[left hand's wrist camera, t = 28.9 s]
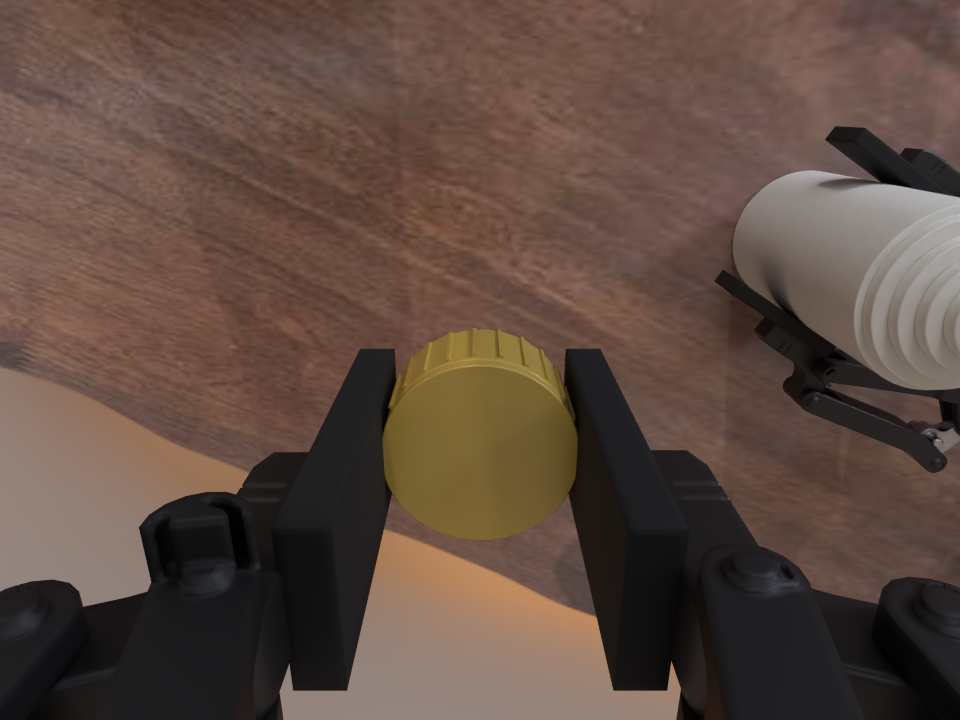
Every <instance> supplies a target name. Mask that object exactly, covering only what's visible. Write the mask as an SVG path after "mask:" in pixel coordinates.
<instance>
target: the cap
mask: <svg viewBox="0 0 960 720" xmlns="http://www.w3.org/2000/svg"><path fill="white" fill-rule="evenodd" d="M388 408H389V409H390V410H389V414H388V417H387V420H386V424H385V427H384V431H383V435H382V438H383V456H384V472H385V480H386V482H387V485H388V487H389V489H390V490H391V492H392V494H393V496H394V497H395V498H396V500H397V501H398V503H399V504H400V505H401V506H402V507H403V508H404V509H405V510H406V512H407V513H409V514H410V515H411V516H412V517H413V518H415V519H416V520H417V521H419V522H420V523H422V524H423V525H425V526H427V527H429V528H431V529H433V530H435V531H437V532H439V533H442V534H445V535H448V536H451V537H456V538H460V539H468V540H493V539H500V538H505V537H509V536H512V535H515V534H518V533H521V532H524V531H526V530H528V529H530V528H532V527H534V526H535V525H537V524H539V523H540V522H542V521H543V520H544V519H546V518H547V517H548V516H549V515H551V514H552V513H553V512H554V511H555V510H556V509H557V508H558V507H559V506H560V504H561V503H562V502H563V500H564V499H565V498H566V496H567V495H568V493H569V491H570V489H571V488H572V486H573V483H574V481H575V478H576V463H577V447H578V433H577V429H576V425H575V422H574V421H575V418H576V417H575V414H574V411H573V407H572V404H571V401H570V398H569V394H568V391H567V388H566V386H563V383H562V379H561V376H560V373H559V369H558V367H557V366H555V367H554V366H553V365H552V363H551V362H550V361H549V359H548V358H547V357H546V356H545V355H544V351H543V350H542V349H540V350H538V349H537V348H535V347H534V346H533V345H531V344H530V343H528V342H526V341H525V340H524V338H523V337H520V338H518V337H516V336H513V335H511V334H507V333H504V332H501V330H499V329H497V331H493V330H477V328H473V330H467V331H461V332H457V333H453V332H450V333H449V335H447V336H445V337H442V338H440V339H438V340H436V341H434V342H432V343H431V342H428V343H427V346H426V347H425V348H424V349H422V350H421V351H420V352H419V353H418V354H417V355H416V356H415V357H413V356H412V357H411V358H410V360H409V363H408V365H407V366H406V368H405V370H404V371H403V373H402V375H400V374H399V375H398V377H397V380H396V383H395V387H394V390H393V393H392V396H391V400H390V403H389V406H388Z"/></svg>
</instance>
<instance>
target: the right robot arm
mask: <svg viewBox="0 0 960 720" xmlns="http://www.w3.org/2000/svg"><path fill="white" fill-rule="evenodd" d="M825 140H826V141H828V142H829V143H830V144H831V145H833V146H834V147H835V148H837V149H838V150H839V151H841V152H842V153H843V154H845V155H846V156H847V157H849V158H850V159H851V160H852V161H854V162H855V163H856V164H858V165H859V166H860V167H862V168H863V169H864V170H866V171H867V172H868V173H870V174H871V175H872V176H873V177H875V178H876V179H877V180H879V181H880V182H881V183H885V184H891V185H896V186H901V187H906V188H912V189H917V190H922V191H928V192H933V193H938V194H943V195H949V196H954V197H959V198H960V172H959V171H957V170H956V169H955V168H954V167H952V166H951V165H950V164H948V163H947V162H946V161H945V160H944V159H942V158H941V157H940V156H939V155H937V154H936V153H935V152H933V151H928V150H922V149H912V148H905V149H904V150H903V151H902V153H901V154H900V155H899V154H898V153H897V152H895V151H894V150H893V149H891V148H890V147H889V146H888V145H886V144H885V143H884V142H882V141H881V140H880V139H879V138H877V137H876V136H875V135H873V134H872V133H871V132H870V131H868V130H867V129H866V128H856V127H838V126H835V128H834V129H833V130H832V131H831V133H830V134H829V135H828V136H827V138H826V139H825ZM715 282H716V283H718V284H719V285H720V286H722V287H723V288H724V289H726V290H727V291H728V292H730V293H731V294H732V295H734V296H735V297H737V298H738V299H740V300H741V301H743V302H744V303H746V304H747V305H749V306H750V307H752V308H753V309H755V310H756V311H758V312H759V313H761V314H762V315H764V316H765V317H764V318H763V320H762V321H761V322H760V323H759V325H758V326H757V327H756V328H755V329H754V330H755V332H756V334H757V335H758V337H759V338H760V339H761V340H763V341H764V342H765V343H766V344H767V345H769V346H770V347H772V348H773V349H775V350H776V351H778V352H779V353H781V354H782V355H784V356H785V357H787V358H788V359H790V360H791V361H793V362H794V372H793V374H792V376H790V377H788V378H787V379H786V380H785V381H784V383H783V389H784V391H785V392H786V393H787V394H788V395H789V396H790V397H791V398H792V399H793V400H794V401H795V402H796V403H797V404H799V405H800V406H801V407H802V408H803V409H804V410H805V411H807V412H809V413H812V414H814V415H817V416H819V417H822V418H824V419H827V420H829V421H832V422H834V423H837V424H839V425H842V426H844V427H847V428H849V429H852V430H854V431H857V432H859V433H862V434H864V435H867V436H869V437H871V438H874V439H876V440H879V441H881V442H884V443H886V444H889V445H891V446H894V447H896V448H899V449H901V450H903V451H904V452H905V453H906V454H908V455H909V456H910V457H911V458H913V459H914V460H915V461H916V462H917V463H919V464H920V465H921V466H922V467H924V468H925V469H926V470H927V471H929V472H932V473H936V472H939V471H941V470H943V469H944V468H945V466H946V464H947V459H946V457H945V456H944V455H943V453H944V452H946V451H947V450H948V449H950V448H951V447H952V446H954V445H955V444H956V443H958V442H959V441H960V388H955V389H944V390H918V389H911V388H906V387H902V386H899V385H897V384H894V383H892V382H890V381H888V380H886V379H884V378H882V377H881V376H880V375H878V374H877V373H875V372H874V371H872V370H871V369H869V368H868V367H866V366H865V365H863V364H862V363H860V362H859V361H857V360H856V359H854V358H853V357H851V356H850V355H848V354H847V353H845V352H844V351H842V350H838V349H835V348H836V346H835V345H833V344H832V343H830V342H829V341H827V340H826V339H824V338H823V337H822V336H820V335H819V334H817V333H816V332H814V331H813V330H811V329H810V328H808V327H807V326H806V325H804V324H803V323H801V322H800V321H798V320H797V319H795V318H794V317H792V316H791V315H789V314H788V313H786V312H785V311H783V310H782V309H780V308H779V307H778V306H776V305H775V304H773V303H772V302H770V301H769V300H767V299H766V298H764V297H763V296H761V295H760V294H758V293H757V292H755V291H754V290H753V289H751V288H750V287H748V286H747V285H745V284H744V283H742V282H741V281H739V280H738V279H736V278H735V277H733V276H732V275H730V274H729V273H727V272H726V271H724V270H723V271H722V272H721V273H720V274H719V276H718V277H717V278H716V280H715ZM828 382H832V383H839V384H846V385H853V386H860V387H867V388H874V389H881V390H888V391H895V392H902V393H909V394H916V395H923V396H929V397H933V398H936V399H938V400H939V404H940V411H941V417H942V421H943V422H941V423H939V424H934V425H933V424H929V423H927V422H925V421H920V422H917V421H914V420H913V421H910V422H909V423H908V424H907V423H905V422H904V421H902V420H901V419H899V418H898V417H896V416H894V415H892V414H890V413H888V412H885V411H883V410H880V409H878V408H875V407H873V406H871V405H868V404H866V403H863V402H861V401H858V400H856V399H853V398H851V397H849V396H846V395H844V394H841V393H839V392H836V391H834V390H831V389H829V388H827V387H825V386H826V385H827V386H829V387H830V386H831V385H830V384H829V383H828Z"/></svg>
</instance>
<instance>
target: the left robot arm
mask: <svg viewBox="0 0 960 720" xmlns="http://www.w3.org/2000/svg"><path fill="white" fill-rule="evenodd" d="M395 383H396V367H395V349H360V350H359V353H358V355H357V357H356V359H355V361H354V363H353V365H352V367H351V369H350V371H349V373H348V375H347V377H346V379H345V381H344V383H343V385H342V387H341V389H340V391H339V393H338V395H337V397H336V399H335V401H334V403H333V405H332V407H331V409H330V411H329V413H328V415H327V417H326V419H325V421H324V423H323V425H322V427H321V429H320V431H319V433H318V435H317V437H316V439H315V441H314V443H313V445H312V447H311V449H310V451H309V452H274V453H273V454H271V455H270V456H269V457H267V458H266V459H264V460H263V461H262V462H260V463H259V464H257V465H256V466H255V467H253V469H252V470H251V472H250V474H249V475H248V477H247V478H246V480H245V481H244V483H243V487H242V488H240V489H239V491H238V493H237V494H236V495H235V494H232V493H228V492H205V493H200V494H194V495H189V496H185V497H183V498H180V499H177V500H175V501H172V502H170V503H167V504H165V505H163V506H162V507H160V508H159V509H157V510H156V511H154V512H153V513H151V514H150V515H149V516H148V517H147V518H146V519H145V521H144V522H143V523H142V524H141V525H140V527H139V530H140V534H141V538H142V543H143V547H144V551H145V556H146V560H147V565H148V569H149V574H150V578H151V585H150V587H149V589H148V592H145V593H141V594H138V595H134V596H131V597H127V598H122V599H118V600H113V601H108V602H104V603H99V604H94V605H90V606H85V607H83V605H82V601H81V597H80V594H79V591H78V590H77V589H76V588H75V587H73V586H72V585H71V584H70V583H67V582H62V581H57V580H43V581H32V582H28V583H24V584H20V585H18V586H13V587H11V588H7V589H5V590H3V591H1V592H0V720H283V714H282V707H281V700H280V693H279V691H280V689H281V686H282V683H283V680H284V677H285V674H286V671H287V668H288V665H289V663H290V670H291V677H292V685H293V690H294V691H347V688H348V683H349V679H350V675H351V670H352V666H353V661H354V657H355V653H356V648H357V644H358V640H359V635H360V631H361V627H362V622H363V618H364V613H365V609H366V605H367V600H368V596H369V591H370V587H371V583H372V578H373V574H374V570H375V565H376V561H377V556H378V552H379V548H380V543H381V539H382V535H383V530H384V526H385V521H386V517H387V513H388V508H389V504H390V500H391V495H392V492H391V490H390V489H389V487H388V485H387V482H386V480H385V472H384V456H383V438H382V435H383V431H384V427H385V424H386V420H387V417H388V414H389V410H390V409H389V408H388V406H389V403H390V400H391V396H392V393H393V390H394V387H395ZM564 386H566V388H567V391H568V394H569V398H570V401H571V404H572V407H573V411H574V414H575V417H576V418H575V421H574V422H575V425H576V429H577V433H578V447H577V463H576V478H575V481H574V483H573V486H572V488H571V489H570V491H569V498H570V502H571V507H572V511H573V515H574V520H575V524H576V528H577V533H578V537H579V542H580V546H581V550H582V555H583V559H584V563H585V568H586V572H587V577H588V581H589V585H590V590H591V594H592V599H593V603H594V607H595V612H596V616H597V620H598V625H599V629H600V634H601V638H602V642H603V647H604V651H605V655H606V660H607V664H608V669H609V673H610V677H611V681H612V686H613V690H614V691H667V688H668V680H669V673H670V666H671V661H672V664H673V666H674V669H675V672H676V675H677V678H678V681H679V684H680V687H681V693H680V700H679V706H678V713H677V720H960V588H958V587H956V586H954V585H951V584H948V583H943V582H941V581H936V580H933V579H926V578H916V577H905V578H900V579H895V580H891V581H890V582H889V583H888V584H887V585H886V586H885V587H884V588H883V589H882V592H881V596H880V599H879V603H878V604H874V603H870V602H865V601H860V600H856V599H851V598H846V597H842V596H837V595H833V594H829V593H825V592H822V591H818V590H815V589H813V588H811V586H810V583H809V581H808V580H807V578H806V577H805V576H804V574H803V573H802V571H801V570H800V568H799V567H797V566H796V565H795V564H793V563H792V562H791V561H789V560H788V559H787V558H785V557H784V556H782V555H780V554H778V553H775V552H773V551H771V550H769V549H766V548H764V547H759V546H758V544H757V543H756V541H755V539H754V538H753V536H752V535H751V533H750V532H749V530H748V528H747V527H746V525H745V524H744V522H743V521H742V519H741V517H740V516H739V514H738V513H737V511H736V510H735V508H734V506H733V505H732V503H731V502H730V500H727V495H726V494H725V492H724V491H723V489H722V488H721V486H718V481H717V480H716V478H715V477H714V475H713V473H712V472H711V470H710V469H709V467H708V466H707V465H706V464H705V463H703V462H702V461H701V460H699V459H698V458H696V457H695V456H694V455H692V454H691V453H689V452H688V451H687V450H650V448H649V446H648V444H647V442H646V440H645V438H644V436H643V434H642V432H641V430H640V428H639V426H638V424H637V422H636V420H635V418H634V416H633V414H632V412H631V410H630V408H629V406H628V404H627V402H626V400H625V398H624V396H623V394H622V392H621V390H620V388H619V386H618V384H617V382H616V380H615V378H614V376H613V374H612V372H611V370H610V368H609V366H608V364H607V362H606V360H605V358H604V356H603V354H602V352H601V350H600V349H566V355H565V375H564Z"/></svg>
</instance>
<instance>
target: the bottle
mask: <svg viewBox="0 0 960 720" xmlns="http://www.w3.org/2000/svg"><path fill="white" fill-rule="evenodd" d="M733 257H734V262H735V265H736V268H737V271H738V273H739V275H740V276H741V278H742V279H743V281H744V282H745V283H746V284H747V285H748V286H749V287H750V288H751V289H753V290H754V291H755V292H757V293H758V294H760V295H761V296H763V297H764V298H766V299H767V300H769V301H770V302H772V303H773V304H775V305H776V306H778V307H779V308H780V309H782V310H783V311H785V312H786V313H788V314H789V315H791V316H792V317H794V318H795V319H797V320H798V321H800V322H801V323H803V324H804V325H806V326H807V327H808V328H810V329H811V330H813V331H814V332H816V333H817V334H819V335H820V336H822V337H823V338H824V339H826V340H827V341H829V342H830V343H832V344H833V345H835V346H836V347H838V348H839V349H841V350H842V351H844V352H845V353H847V354H848V355H850V356H851V357H853V358H854V359H856V360H857V361H859V362H860V363H862V364H863V365H865V366H866V367H868V368H869V369H871V370H872V371H874V372H875V373H877V374H878V375H880V376H881V377H882V378H884V379H886V380H888V381H890V382H892V383H894V384H897V385H899V386H902V387H906V388H911V389H918V390H944V389H955V388H960V198H959V197H954V196H949V195H943V194H938V193H933V192H928V191H922V190H917V189H912V188H906V187H901V186H896V185H891V184H885V183H880V182H875V181H869V180H864V179H859V178H854V177H848V176H843V175H838V174H832V173H827V172H822V171H800V172H794V173H791V174H788V175H785V176H783V177H780V178H778V179H776V180H774V181H773V182H771V183H769V184H768V185H767V186H765V187H764V188H763V189H761V190H760V191H759V192H758V193H757V194H756V195H755V196H754V197H753V198H752V199H751V201H750V202H749V203H748V204H747V206H746V207H745V209H744V210H743V212H742V214H741V216H740V218H739V220H738V223H737V225H736V228H735V232H734V237H733Z"/></svg>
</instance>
